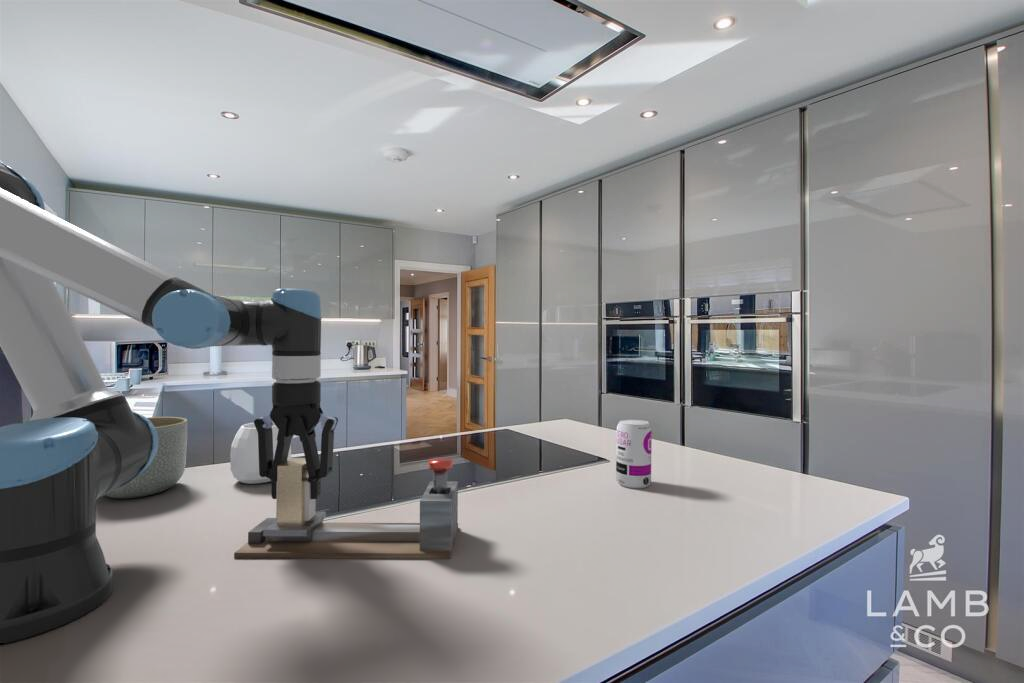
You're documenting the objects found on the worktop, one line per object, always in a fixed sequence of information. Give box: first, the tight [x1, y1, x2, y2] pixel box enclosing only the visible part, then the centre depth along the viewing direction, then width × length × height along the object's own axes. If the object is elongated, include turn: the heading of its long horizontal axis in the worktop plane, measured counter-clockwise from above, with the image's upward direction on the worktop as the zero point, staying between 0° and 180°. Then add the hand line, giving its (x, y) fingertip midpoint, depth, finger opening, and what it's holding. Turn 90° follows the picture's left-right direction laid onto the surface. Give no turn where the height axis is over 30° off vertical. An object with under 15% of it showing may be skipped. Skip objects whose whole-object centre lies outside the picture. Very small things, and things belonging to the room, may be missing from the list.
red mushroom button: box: [427, 456, 453, 494], centre depth 79 cm, size 4×4×7 cm
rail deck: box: [233, 480, 459, 560], centre depth 79 cm, size 12×34×9 cm, turn 91°
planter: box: [104, 416, 189, 499], centre depth 103 cm, size 17×17×15 cm
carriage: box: [263, 457, 327, 542], centre depth 79 cm, size 8×7×12 cm
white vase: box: [229, 422, 292, 485], centre depth 113 cm, size 13×13×14 cm
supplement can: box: [615, 418, 653, 489], centre depth 111 cm, size 8×8×15 cm
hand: (296, 517), depth 79 cm, fingers closed on carriage, 4 cm apart
